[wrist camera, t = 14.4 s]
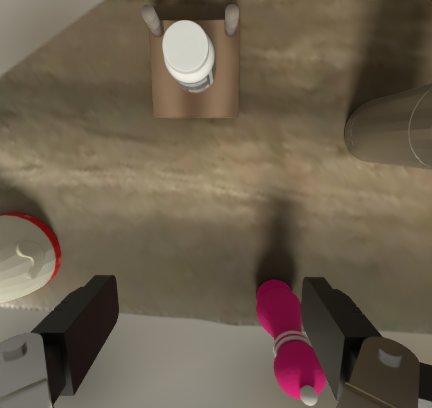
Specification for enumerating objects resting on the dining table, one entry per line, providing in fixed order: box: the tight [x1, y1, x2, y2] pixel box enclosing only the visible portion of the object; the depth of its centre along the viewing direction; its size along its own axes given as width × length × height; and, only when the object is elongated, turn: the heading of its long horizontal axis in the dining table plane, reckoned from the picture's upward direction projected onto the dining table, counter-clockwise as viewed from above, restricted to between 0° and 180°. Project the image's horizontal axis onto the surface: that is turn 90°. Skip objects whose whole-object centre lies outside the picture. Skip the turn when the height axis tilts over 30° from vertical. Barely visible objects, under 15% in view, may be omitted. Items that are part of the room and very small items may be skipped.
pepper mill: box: [256, 279, 327, 406], centre depth 37 cm, size 7×7×20 cm
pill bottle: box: [162, 20, 216, 93], centre depth 31 cm, size 6×6×10 cm
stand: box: [141, 4, 240, 118], centre depth 35 cm, size 12×12×8 cm
